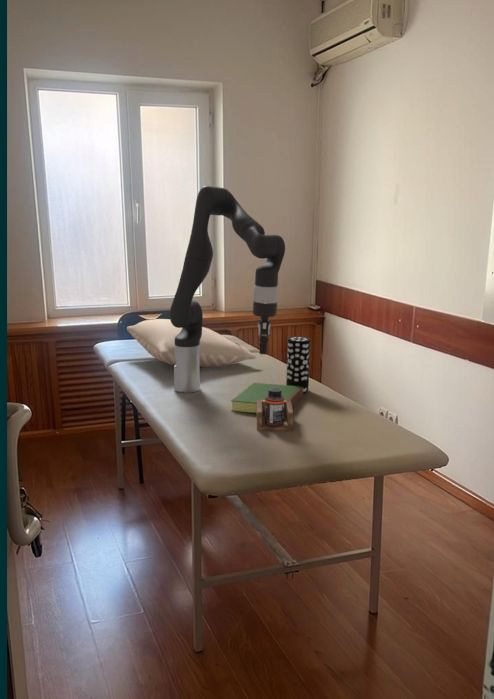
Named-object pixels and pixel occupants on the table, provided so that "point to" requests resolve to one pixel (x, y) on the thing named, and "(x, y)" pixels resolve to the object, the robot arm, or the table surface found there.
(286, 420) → the open-sided wooden box
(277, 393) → the supplement bottle
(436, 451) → the table surface
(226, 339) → the pillow
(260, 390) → the hardcover book
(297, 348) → the white-spotted black cylinder
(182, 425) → the table surface
